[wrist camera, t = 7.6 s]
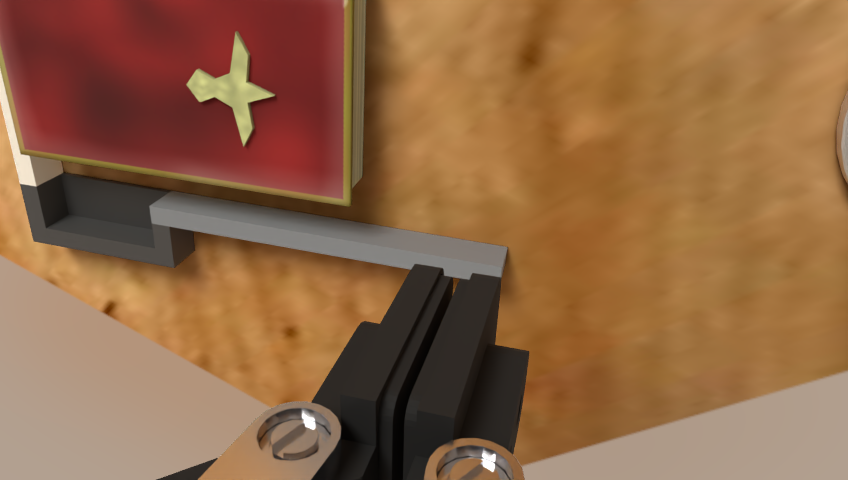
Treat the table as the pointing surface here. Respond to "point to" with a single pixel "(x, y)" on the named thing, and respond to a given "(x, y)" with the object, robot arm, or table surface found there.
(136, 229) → the grey u-shaped frame
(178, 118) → the hardcover book
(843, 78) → the table surface
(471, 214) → the table surface
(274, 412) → the robot arm
